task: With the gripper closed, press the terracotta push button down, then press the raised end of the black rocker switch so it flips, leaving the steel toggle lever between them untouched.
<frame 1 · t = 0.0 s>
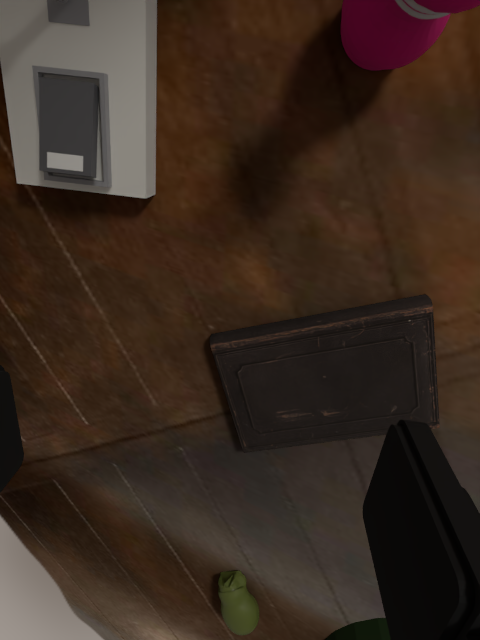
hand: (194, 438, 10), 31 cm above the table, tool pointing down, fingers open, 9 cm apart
control panel: (85, 10, 32), on the table
pepper mill: (379, 25, 31), on the table
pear: (238, 584, 63), on the table
hardcover book: (324, 373, 45), on the table
rocker: (68, 129, 32), point 4 cm above the table, hinge at -12.0°
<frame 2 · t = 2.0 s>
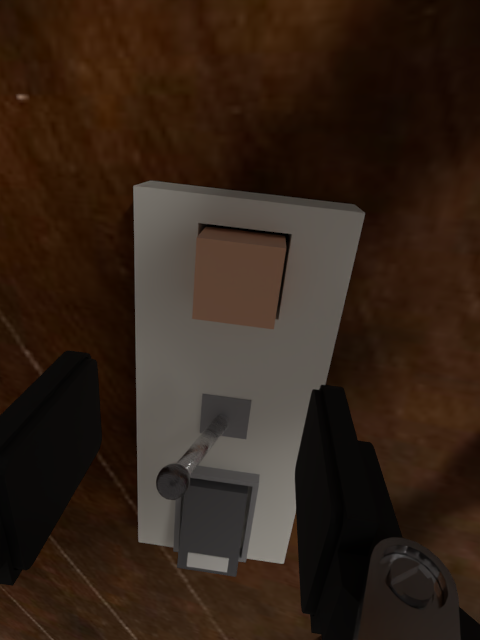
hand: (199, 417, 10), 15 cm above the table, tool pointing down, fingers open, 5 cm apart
toggle lever: (185, 465, 22), point 8 cm above the table, hinge at 20.0°
control panel: (229, 390, 29), on the table
push button: (239, 276, 21), point 4 cm above the table, slide at 0.0 cm
rocker: (212, 527, 28), point 4 cm above the table, hinge at -12.0°
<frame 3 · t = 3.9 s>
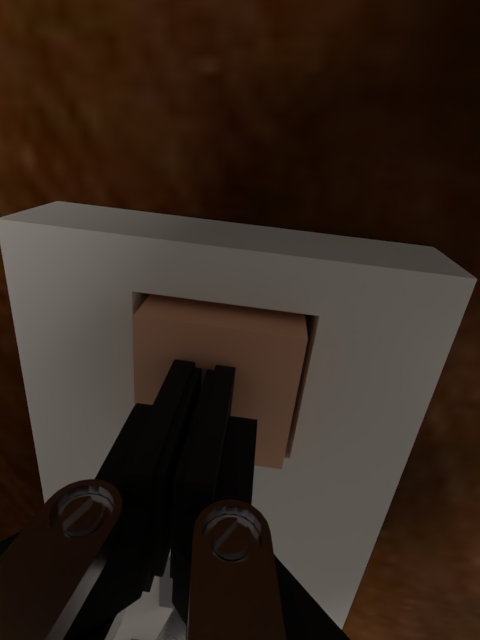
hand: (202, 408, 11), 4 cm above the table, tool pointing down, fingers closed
control panel: (211, 520, 18), on the table
push button: (220, 370, 12), point 2 cm above the table, slide at 1.2 cm
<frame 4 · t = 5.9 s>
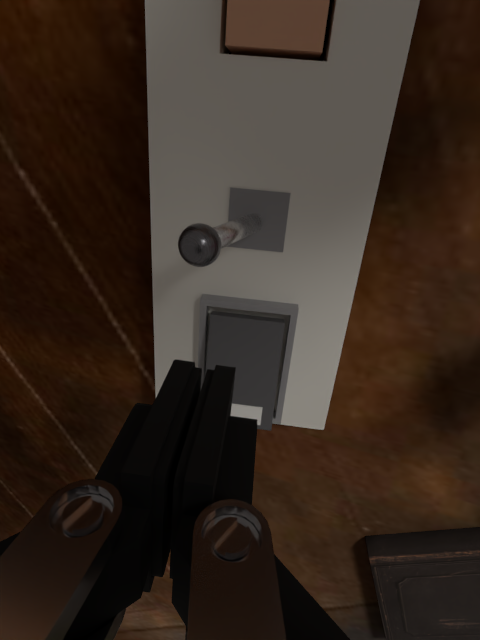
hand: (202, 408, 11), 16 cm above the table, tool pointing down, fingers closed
toggle lever: (214, 239, 17), point 8 cm above the table, hinge at 20.0°
control panel: (260, 210, 24), on the table
rocker: (242, 371, 24), point 4 cm above the table, hinge at -12.0°
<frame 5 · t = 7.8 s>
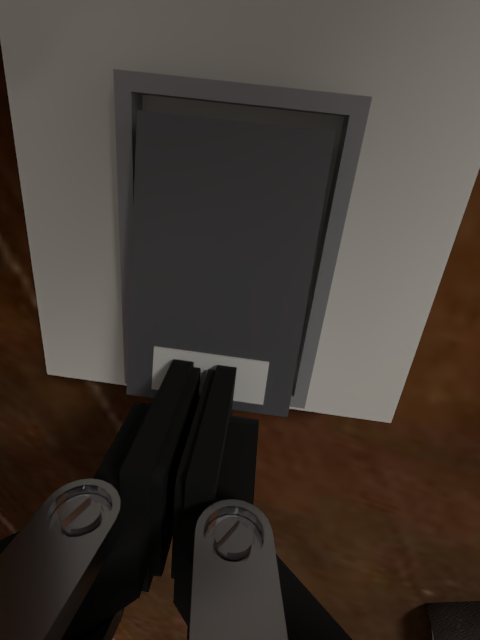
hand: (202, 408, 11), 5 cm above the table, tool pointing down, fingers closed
rocker: (221, 274, 10), point 4 cm above the table, hinge at -9.9°, touching gripper
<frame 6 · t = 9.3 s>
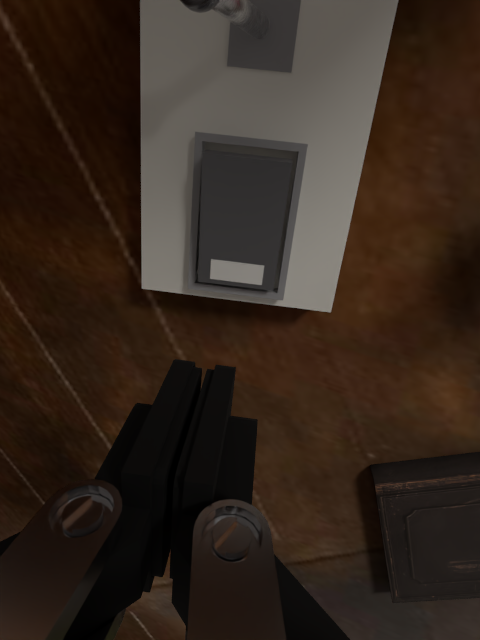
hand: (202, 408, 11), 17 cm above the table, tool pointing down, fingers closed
control panel: (264, 44, 21), on the table
rocker: (241, 224, 21), point 4 cm above the table, hinge at 7.7°
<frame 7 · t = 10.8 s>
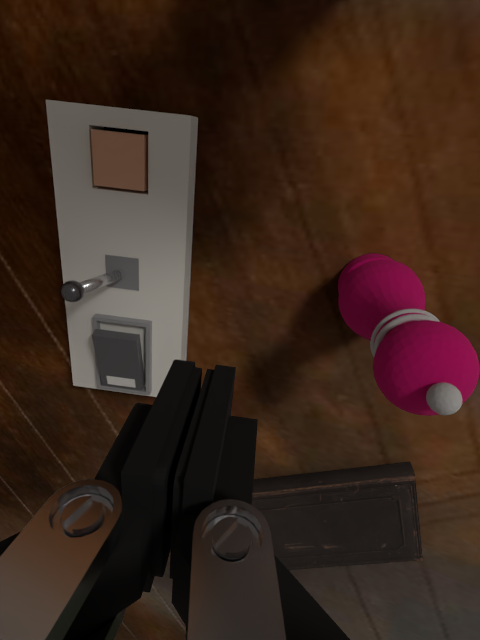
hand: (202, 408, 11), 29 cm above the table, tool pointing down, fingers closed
toggle lever: (84, 287, 33), point 8 cm above the table, hinge at 20.0°
control panel: (133, 263, 40), on the table
push button: (123, 160, 34), point 2 cm above the table, slide at 1.7 cm
pepper mill: (369, 283, 39), on the table
hardcover book: (325, 511, 53), on the table
rocker: (119, 360, 40), point 4 cm above the table, hinge at 13.7°
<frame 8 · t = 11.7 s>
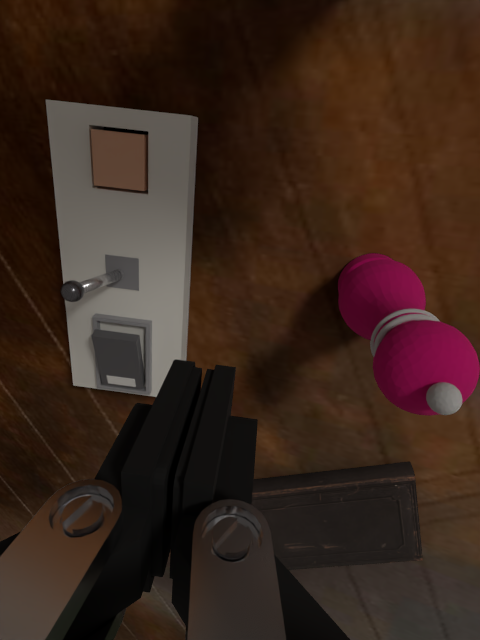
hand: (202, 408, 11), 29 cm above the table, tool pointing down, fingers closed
toggle lever: (84, 287, 33), point 8 cm above the table, hinge at 20.0°
control panel: (133, 263, 40), on the table
push button: (123, 160, 34), point 2 cm above the table, slide at 1.7 cm
pepper mill: (369, 282, 39), on the table
hardcover book: (325, 511, 53), on the table
rocker: (119, 360, 40), point 4 cm above the table, hinge at 15.2°, touching control panel
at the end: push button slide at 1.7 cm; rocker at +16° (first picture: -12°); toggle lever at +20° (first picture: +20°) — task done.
